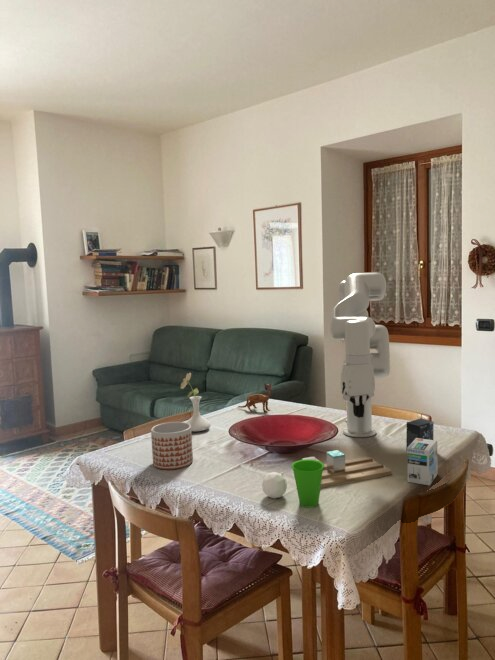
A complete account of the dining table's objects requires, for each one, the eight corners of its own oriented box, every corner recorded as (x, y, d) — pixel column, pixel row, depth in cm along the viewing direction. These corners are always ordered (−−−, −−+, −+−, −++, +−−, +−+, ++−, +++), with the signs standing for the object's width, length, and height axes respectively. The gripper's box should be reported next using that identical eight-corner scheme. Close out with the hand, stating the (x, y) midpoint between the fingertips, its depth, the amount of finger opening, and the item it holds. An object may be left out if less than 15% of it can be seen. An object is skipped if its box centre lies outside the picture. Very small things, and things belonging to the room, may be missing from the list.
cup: (290, 497, 149) (288, 460, 148) (321, 495, 150) (320, 458, 149) (295, 512, 140) (294, 472, 139) (328, 509, 141) (327, 469, 140)
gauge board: (296, 472, 168) (295, 453, 167) (367, 460, 176) (367, 442, 175) (315, 488, 154) (315, 468, 154) (391, 474, 163) (391, 455, 162)
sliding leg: (327, 469, 166) (326, 451, 165) (338, 467, 167) (337, 450, 166) (333, 474, 161) (333, 456, 161) (345, 472, 163) (345, 454, 162)
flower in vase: (196, 424, 227) (193, 367, 224) (216, 428, 220) (213, 369, 218) (175, 432, 216) (171, 373, 214) (195, 436, 210) (192, 375, 207)
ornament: (264, 490, 155) (279, 467, 155) (281, 505, 150) (297, 482, 151) (252, 486, 150) (268, 462, 150) (270, 502, 145) (286, 477, 145)
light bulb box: (430, 486, 153) (429, 450, 152) (406, 482, 156) (406, 447, 155) (438, 473, 162) (438, 439, 161) (416, 470, 165) (415, 437, 164)
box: (419, 455, 178) (419, 425, 177) (406, 451, 183) (405, 421, 182) (434, 450, 182) (434, 421, 181) (420, 446, 187) (420, 417, 186)
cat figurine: (235, 410, 247) (233, 382, 245) (241, 407, 253) (239, 379, 251) (270, 413, 239) (269, 384, 237) (275, 410, 245) (274, 381, 243)
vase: (177, 453, 191) (175, 419, 190) (201, 461, 181) (199, 426, 180) (145, 464, 181) (143, 428, 180) (168, 473, 172) (166, 435, 170)
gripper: (372, 355, 169) (372, 410, 172) (330, 360, 164) (332, 416, 167) (385, 358, 162) (386, 416, 164) (342, 364, 157) (343, 423, 160)
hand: (358, 416), depth 166 cm, fingers closed
